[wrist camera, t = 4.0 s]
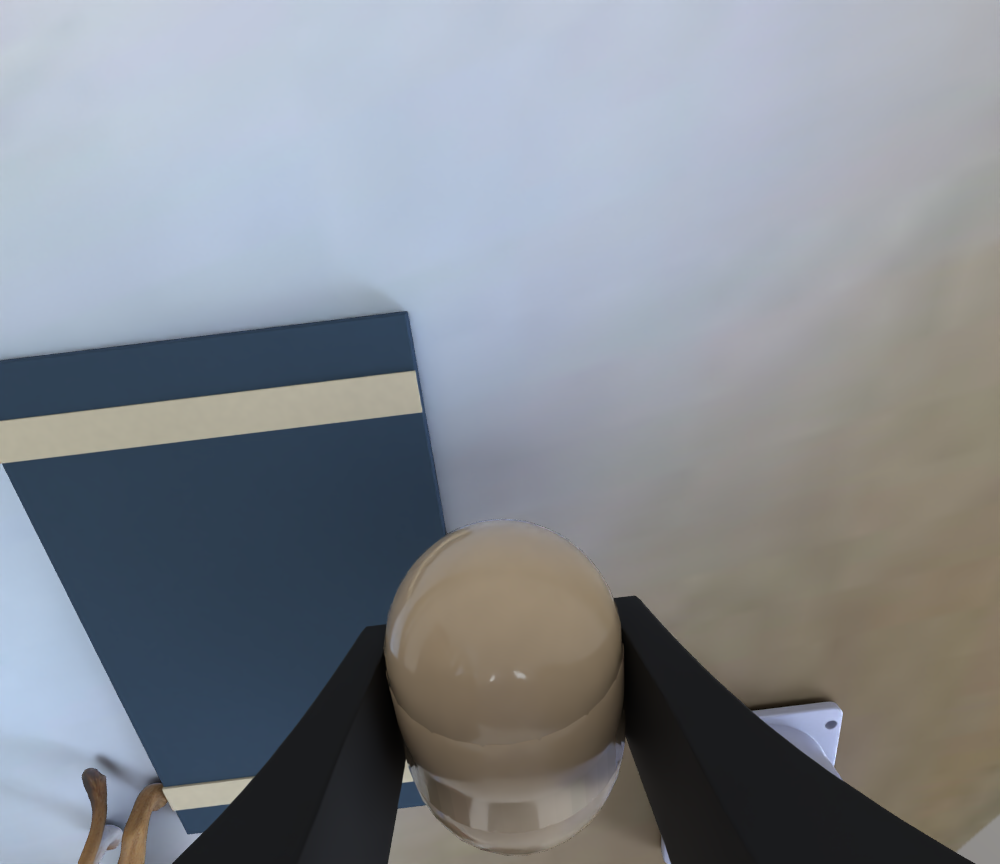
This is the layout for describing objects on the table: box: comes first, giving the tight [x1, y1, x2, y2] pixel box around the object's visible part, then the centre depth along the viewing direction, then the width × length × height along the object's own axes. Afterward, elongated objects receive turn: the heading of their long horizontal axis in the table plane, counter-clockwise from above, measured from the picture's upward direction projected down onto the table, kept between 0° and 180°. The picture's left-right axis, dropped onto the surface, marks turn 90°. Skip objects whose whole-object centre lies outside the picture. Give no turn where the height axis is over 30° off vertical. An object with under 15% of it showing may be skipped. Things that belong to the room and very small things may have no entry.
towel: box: [0, 311, 446, 834], centre depth 20 cm, size 22×14×1 cm, turn 6°
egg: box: [384, 519, 626, 856], centre depth 10 cm, size 6×4×4 cm
